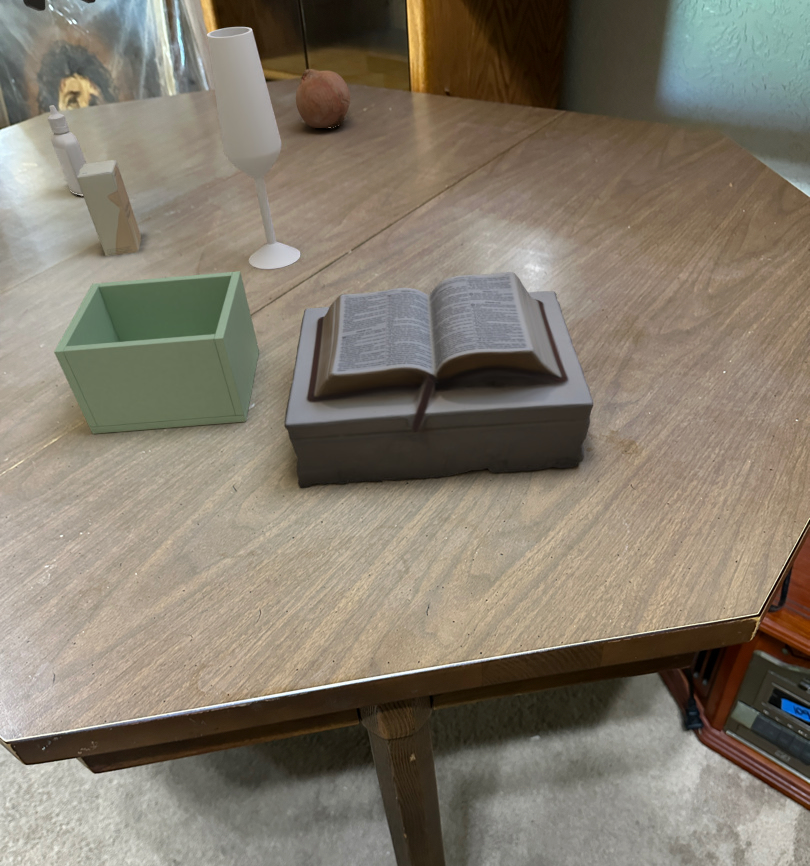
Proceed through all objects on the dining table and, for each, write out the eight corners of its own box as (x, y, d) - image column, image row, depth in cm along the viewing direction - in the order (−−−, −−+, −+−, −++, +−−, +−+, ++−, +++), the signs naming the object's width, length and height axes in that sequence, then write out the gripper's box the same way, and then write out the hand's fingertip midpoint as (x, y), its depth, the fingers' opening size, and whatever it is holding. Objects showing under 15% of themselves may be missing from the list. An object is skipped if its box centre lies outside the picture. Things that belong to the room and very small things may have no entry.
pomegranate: (308, 147, 131) (275, 91, 125) (344, 118, 133) (314, 62, 127) (331, 137, 123) (298, 77, 118) (370, 106, 125) (338, 46, 120)
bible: (583, 508, 56) (599, 403, 49) (257, 485, 61) (229, 386, 54) (584, 349, 72) (597, 252, 65) (325, 340, 77) (311, 249, 70)
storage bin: (92, 434, 68) (53, 351, 61) (123, 361, 76) (92, 283, 70) (246, 421, 67) (223, 337, 61) (259, 350, 76) (240, 270, 70)
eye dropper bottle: (66, 199, 111) (33, 113, 103) (71, 187, 115) (39, 102, 107) (95, 195, 112) (64, 109, 103) (99, 183, 116) (69, 98, 107)
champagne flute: (271, 274, 89) (223, 42, 72) (237, 260, 92) (184, 36, 75) (311, 254, 92) (274, 28, 75) (277, 241, 95) (235, 22, 78)
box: (141, 262, 94) (111, 172, 86) (108, 267, 93) (74, 177, 85) (145, 246, 97) (116, 157, 89) (113, 250, 97) (81, 162, 89)
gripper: (-30, -192, 73) (-14, -2, 78) (59, -228, 66) (70, -18, 71) (39, -151, 79) (49, 23, 84) (127, -180, 72) (132, 11, 77)
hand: (59, 4), depth 78 cm, fingers open, 8 cm apart
